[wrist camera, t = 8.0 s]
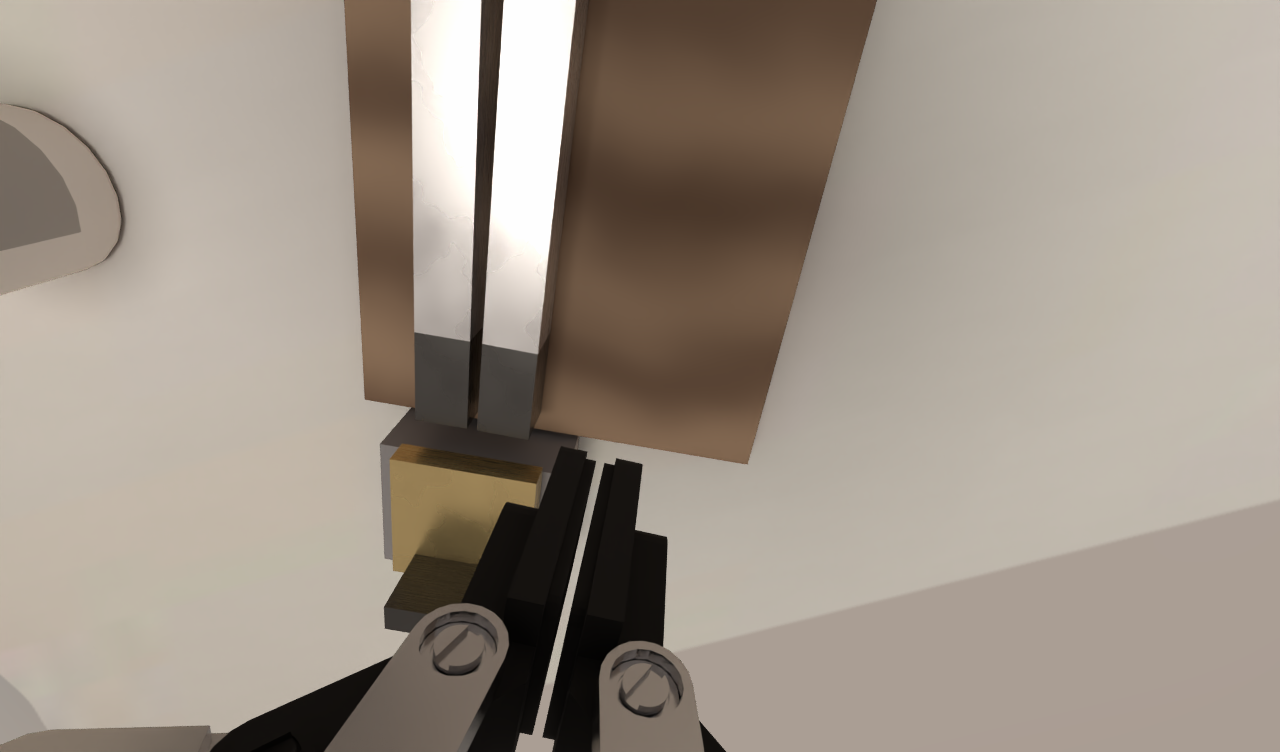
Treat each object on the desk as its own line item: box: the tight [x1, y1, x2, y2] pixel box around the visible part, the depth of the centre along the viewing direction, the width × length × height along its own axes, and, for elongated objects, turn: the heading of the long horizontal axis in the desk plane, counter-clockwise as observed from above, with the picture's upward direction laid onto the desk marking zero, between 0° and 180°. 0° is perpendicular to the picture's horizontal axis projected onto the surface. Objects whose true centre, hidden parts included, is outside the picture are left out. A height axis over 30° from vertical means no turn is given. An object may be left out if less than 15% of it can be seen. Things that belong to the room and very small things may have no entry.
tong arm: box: [477, 0, 589, 440], centre depth 21 cm, size 23×4×3 cm, turn 170°
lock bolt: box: [384, 443, 543, 633], centre depth 25 cm, size 6×6×4 cm
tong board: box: [344, 0, 877, 464], centre depth 23 cm, size 24×18×1 cm
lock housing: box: [380, 408, 579, 560], centre depth 29 cm, size 6×8×4 cm
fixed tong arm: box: [411, 0, 503, 429], centre depth 22 cm, size 19×2×2 cm, turn 171°
